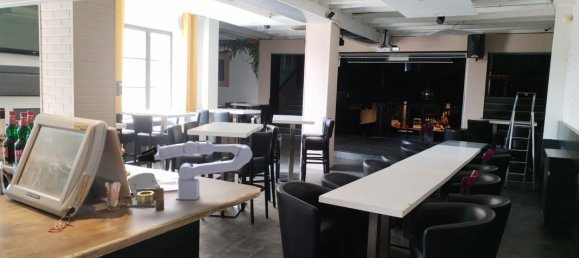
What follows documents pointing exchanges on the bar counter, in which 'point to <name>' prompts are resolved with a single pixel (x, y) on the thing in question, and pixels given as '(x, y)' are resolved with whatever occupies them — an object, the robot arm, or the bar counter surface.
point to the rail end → (159, 199)
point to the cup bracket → (144, 198)
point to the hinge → (142, 181)
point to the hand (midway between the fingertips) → (140, 156)
